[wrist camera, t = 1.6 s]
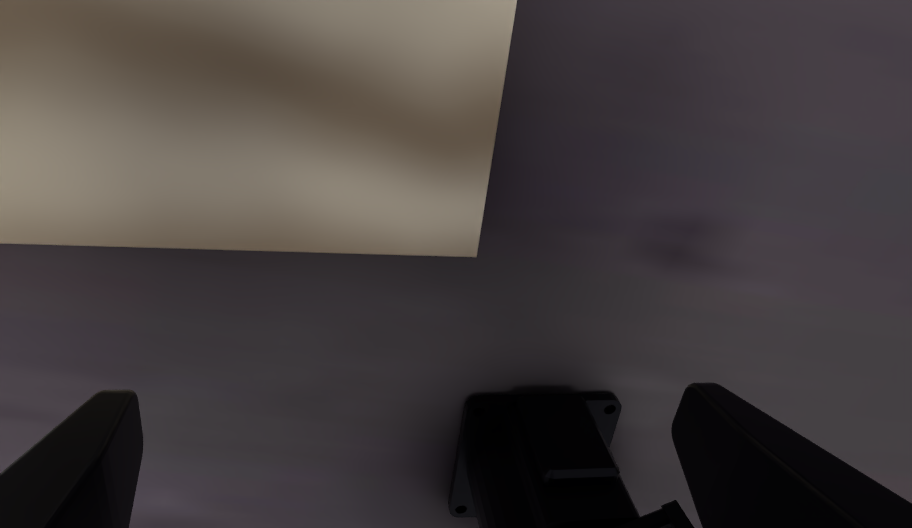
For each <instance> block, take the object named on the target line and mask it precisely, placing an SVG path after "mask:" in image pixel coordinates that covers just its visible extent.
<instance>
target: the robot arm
mask: <svg viewBox="0 0 912 528" xmlns="http://www.w3.org/2000/svg"><path fill="white" fill-rule="evenodd" d="M608 405H611V406H609V407H607V406H608ZM478 407H482V408H481V409H479V410H474V409H476V408H478ZM605 407H607V408H605ZM620 412H621V404H620V402H619V400H618V398H617V397H616V396H615V395H614V394H549V395H479V396H474V397H472V398H470V399H469V400H468V401H467V402H466V404H465V407H464V413H463V419H462V425H461V431H460V437H459V442H458V448H457V454H456V460H455V466H454V472H453V478H452V484H451V490H450V496H449V502H448V504H449V510H450V514H451V515H452V516H454V517H477V519H478V524H479V528H694V527H693V525H692V524H691V522H690V521H689V519H688V518H687V516H686V515H685V513H684V512H683V510H682V508H681V507H680V505H679V504H678V502H677V501H676V500H674V501H672V502H669V503H667V504H664V505H662V506H661V507H662V509H659V510H657V511H654V512H652V513H649V514H647V515H644V516H642V517H640V516H639V514H638V512H637V510H636V508H635V505H634V503H633V501H632V499H631V497H630V495H629V493H628V491H627V489H626V487H625V485H624V483H623V481H622V479H621V477H620V475H619V473H620V471H619V468H618V466H617V464H616V462H615V460H614V458H613V456H612V454H611V452H610V450H609V447H610V443H611V440H612V437H613V434H614V431H615V428H616V424H617V421H618V418H619V415H620ZM672 439H673V442H674V445H675V448H676V451H677V454H678V457H679V460H680V463H681V466H682V469H683V472H684V475H685V478H686V481H687V484H688V487H689V489H690V492H691V495H692V498H693V501H694V504H695V507H696V510H697V513H698V516H699V519H700V521H701V524H702V527H703V528H912V503H910V502H908V501H907V500H905V499H904V498H902V497H900V496H899V495H897V494H895V493H894V492H892V491H891V490H889V489H887V488H886V487H884V486H882V485H881V484H879V483H878V482H876V481H874V480H873V479H871V478H870V477H868V476H866V475H865V474H863V473H861V472H860V471H858V470H857V469H855V468H853V467H852V466H850V465H848V464H847V463H845V462H844V461H842V460H840V459H839V458H837V457H835V456H834V455H832V454H831V453H829V452H827V451H826V450H824V449H822V448H821V447H819V446H818V445H816V444H814V443H813V442H811V441H810V440H808V439H806V438H805V437H803V436H801V435H800V434H798V433H797V432H795V431H793V430H792V429H790V428H788V427H787V426H785V425H784V424H782V423H780V422H779V421H777V420H776V419H774V418H772V417H771V416H769V415H767V414H766V413H764V412H763V411H761V410H759V409H758V408H756V407H754V406H753V405H751V404H750V403H748V402H746V401H745V400H743V399H742V398H740V397H738V396H737V395H735V394H733V393H732V392H730V391H729V390H727V389H725V388H724V387H722V386H720V385H719V384H716V383H692V384H690V385H688V387H687V388H686V389H685V391H684V394H683V396H682V399H681V401H680V404H679V407H678V409H677V412H676V415H675V417H674V420H673V423H672ZM142 453H143V433H142V426H141V418H140V411H139V403H138V397H137V395H136V393H135V392H134V391H132V390H103V391H100V392H98V393H96V394H95V395H93V396H92V397H91V398H90V399H89V400H87V401H86V402H85V403H84V404H83V405H81V406H80V407H79V408H78V409H77V410H76V411H74V412H73V413H72V414H71V415H70V416H68V417H67V418H66V419H65V420H64V421H62V422H61V423H60V424H59V425H58V426H56V427H55V428H54V429H53V430H52V431H50V432H49V433H48V434H47V435H46V436H44V437H43V438H42V439H41V440H40V441H38V442H37V443H36V444H35V445H34V446H33V447H31V448H30V449H29V450H28V451H27V452H25V453H24V454H23V455H22V456H21V457H19V458H18V459H17V460H16V461H15V462H13V463H12V464H11V465H10V466H9V467H7V468H6V469H5V470H4V471H3V472H1V473H0V528H129V523H130V518H131V512H132V507H133V502H134V496H135V491H136V486H137V481H138V475H139V470H140V465H141V460H142ZM461 505H462V506H461Z"/></svg>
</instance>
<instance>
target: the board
mask: <svg viewBox="0 0 912 528" xmlns="http://www.w3.org/2000/svg"><path fill="white" fill-rule="evenodd" d="M516 4H517V0H0V243H7V244H41V245H76V246H110V247H145V248H179V249H214V250H248V251H283V252H318V253H352V254H387V255H421V256H456V257H477V251H478V244H479V238H480V232H481V225H482V219H483V213H484V206H485V200H486V194H487V187H488V181H489V175H490V168H491V162H492V156H493V149H494V143H495V137H496V130H497V124H498V118H499V111H500V105H501V99H502V92H503V86H504V80H505V73H506V67H507V61H508V55H509V48H510V42H511V36H512V29H513V23H514V17H515V10H516Z"/></svg>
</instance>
